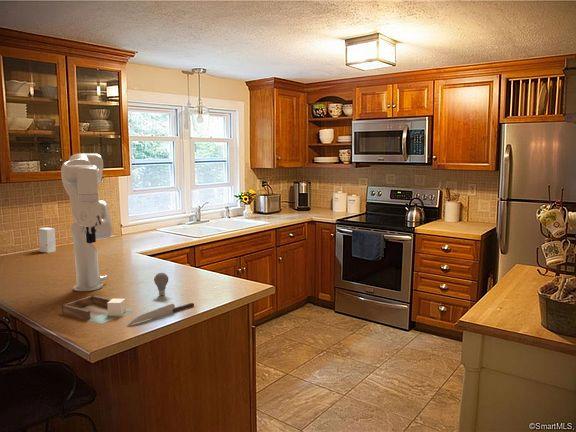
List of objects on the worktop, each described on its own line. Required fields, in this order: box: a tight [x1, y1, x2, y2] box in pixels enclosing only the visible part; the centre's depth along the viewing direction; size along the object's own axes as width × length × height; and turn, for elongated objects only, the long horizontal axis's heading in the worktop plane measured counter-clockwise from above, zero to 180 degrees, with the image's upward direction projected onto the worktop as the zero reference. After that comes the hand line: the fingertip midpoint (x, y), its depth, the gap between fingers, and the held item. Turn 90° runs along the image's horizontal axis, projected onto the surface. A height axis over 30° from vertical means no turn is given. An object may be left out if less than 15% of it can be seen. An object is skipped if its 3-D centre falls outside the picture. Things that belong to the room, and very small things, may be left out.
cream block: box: [107, 298, 127, 317], centre depth 180 cm, size 5×5×5 cm
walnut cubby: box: [60, 295, 135, 325], centre depth 182 cm, size 16×23×4 cm
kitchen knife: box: [125, 302, 195, 328], centre depth 180 cm, size 4×1×30 cm
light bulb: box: [153, 272, 169, 296], centre depth 205 cm, size 6×6×10 cm
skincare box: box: [38, 227, 57, 254], centre depth 295 cm, size 8×6×15 cm
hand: (91, 242), depth 192 cm, fingers closed
